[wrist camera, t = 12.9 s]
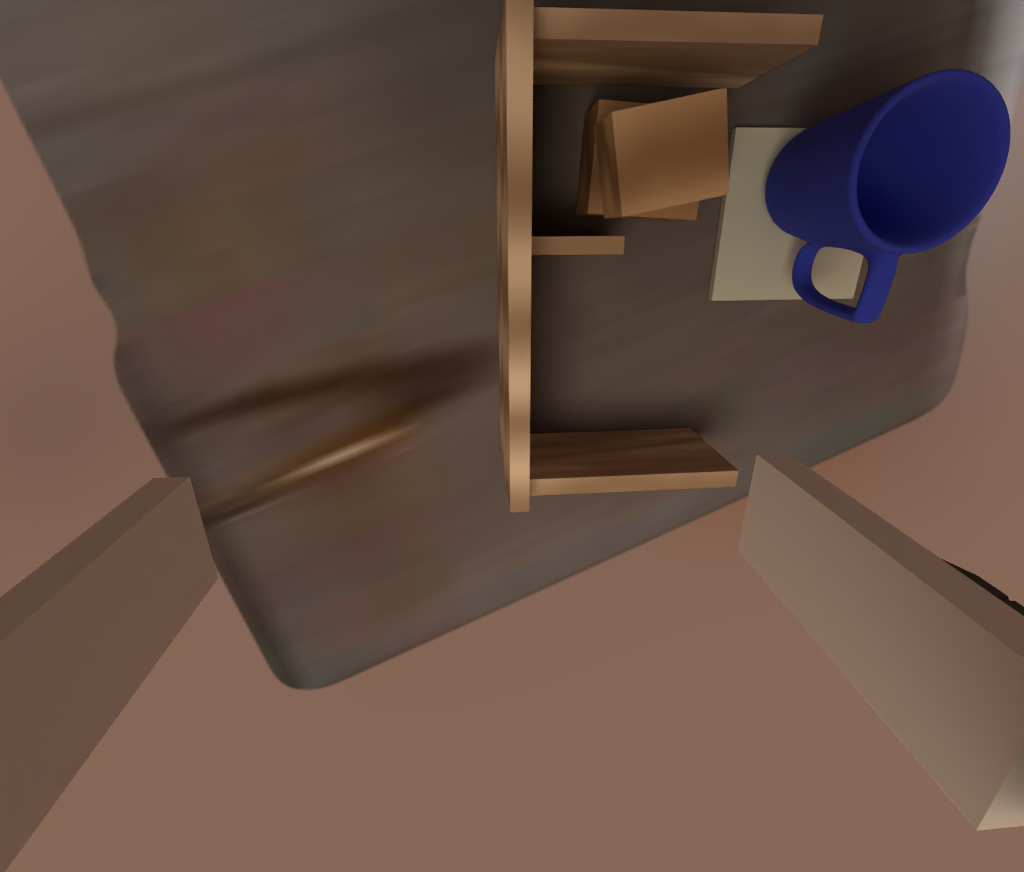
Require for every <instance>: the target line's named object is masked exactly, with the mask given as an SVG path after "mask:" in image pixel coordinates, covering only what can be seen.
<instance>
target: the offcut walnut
mask: <svg viewBox="0 0 1024 872" xmlns="http://www.w3.org/2000/svg"><path fill="white" fill-rule="evenodd" d="M647 104H649V103H637V102H625V101H614V100H602V99H599V100H598V101H597V102H596V103H595V104H594V105H593V106H592V107H591V108H590V109H589V110H588V111H587V112H586V113H585V119H584V130H583V141H582V151H581V162H580V173H579V184H578V195H577V205H576V215H580V216H596V217H604V215H603V206H602V197H601V188H600V179H599V170H598V161H597V152H596V143H595V135H594V126H595V125H597V124H598V123H599V122H600V121H602V120H603V119H604V118H605V117H606V116H608V115H609V114H610V113H611V112H614V111H619V110H623V109H628V108H633V107H637V106H642V105H647ZM699 201H700V200H699ZM699 201H695V202H690V203H685V204H681V205H676V206H671V207H667V208H662V209H657V210H653V211H648V212H643V213H639V214H634V215H629V216H625V217H617V218H628V219H644V220H660V221H692V220H696V218H697V212H698V207H699Z"/></svg>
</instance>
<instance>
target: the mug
mask: <svg viewBox="0 0 1024 872" xmlns="http://www.w3.org/2000/svg"><path fill="white" fill-rule="evenodd" d="M1009 145H1010V120H1009V114H1008V110H1007V107H1006V105H1005V102H1004V100H1003V98H1002V96H1001V94H1000V93H999V91H998V90H997V89H996V88H995V86H994V85H993V84H992V83H991V82H990V81H988V80H987V79H986V78H984V77H983V76H981V75H979V74H977V73H974V72H971V71H967V70H961V69H948V70H940V71H936V72H932V73H929V74H926V75H924V76H921V77H919V78H917V79H914V80H912V81H910V82H908V83H906V84H903V85H901V86H899V87H897V88H894V89H892V90H890V91H888V92H886V93H883V94H881V95H879V96H877V97H874V98H872V99H870V100H868V101H866V102H863V103H861V104H859V105H857V106H854V107H852V108H850V109H848V110H846V111H843V112H841V113H839V114H837V115H834V116H832V117H830V118H828V119H826V120H823V121H821V122H819V123H817V124H814V125H812V126H810V127H808V128H807V129H805V130H803V131H802V132H800V133H799V134H797V135H796V136H795V137H794V138H793V139H791V140H790V141H789V142H788V143H787V144H786V145H785V146H784V147H783V149H782V150H781V151H780V153H779V154H778V155H777V157H776V159H775V160H774V162H773V164H772V166H771V168H770V171H769V174H768V177H767V181H766V188H765V200H766V206H767V210H768V212H769V215H770V217H771V218H772V220H773V222H774V223H775V224H776V225H777V226H778V227H779V228H780V229H781V230H782V231H784V232H786V233H788V234H790V235H792V236H794V237H797V238H799V239H802V240H804V241H806V242H807V244H806V245H804V246H803V247H802V248H801V249H800V251H799V252H798V254H797V256H796V259H795V262H794V265H793V270H792V283H793V287H794V289H795V291H796V293H797V294H798V295H799V296H800V297H801V298H802V299H803V300H804V301H806V302H807V303H809V304H811V305H813V306H814V307H816V308H818V309H821V310H823V311H825V312H828V313H830V314H832V315H835V316H838V317H841V318H844V319H847V320H850V321H853V322H858V323H871V322H873V321H875V320H876V319H877V318H878V317H879V315H880V313H881V311H882V308H883V306H884V303H885V301H886V299H887V296H888V293H889V290H890V287H891V284H892V281H893V278H894V275H895V271H896V266H897V261H898V258H899V256H900V255H902V254H907V253H916V252H920V251H924V250H927V249H930V248H933V247H935V246H937V245H939V244H941V243H943V242H945V241H947V240H948V239H950V238H952V237H953V236H954V235H956V234H957V233H958V232H960V231H961V230H962V229H963V228H965V227H966V226H967V225H968V224H969V223H970V222H971V221H972V220H973V219H974V218H975V217H976V216H977V214H978V213H979V212H980V211H981V210H982V208H983V207H984V206H985V204H986V203H987V202H988V200H989V199H990V197H991V195H992V194H993V192H994V190H995V188H996V186H997V184H998V182H999V180H1000V178H1001V175H1002V173H1003V170H1004V168H1005V164H1006V160H1007V157H1008V152H1009ZM823 247H834V248H842V249H847V250H851V251H854V252H857V253H859V254H861V255H863V256H864V257H865V258H866V259H867V261H868V273H867V277H866V280H865V283H864V287H863V290H862V293H861V295H860V298H859V301H858V303H857V306H856V308H854V307H850V306H847V305H844V304H841V303H839V302H836V301H833V300H831V299H829V298H827V297H826V296H824V295H822V294H821V293H820V292H819V291H818V290H817V289H816V288H815V287H814V285H813V282H812V276H811V274H812V266H813V262H814V260H815V257H816V255H817V253H818V251H819V250H820V249H821V248H823Z"/></svg>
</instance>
